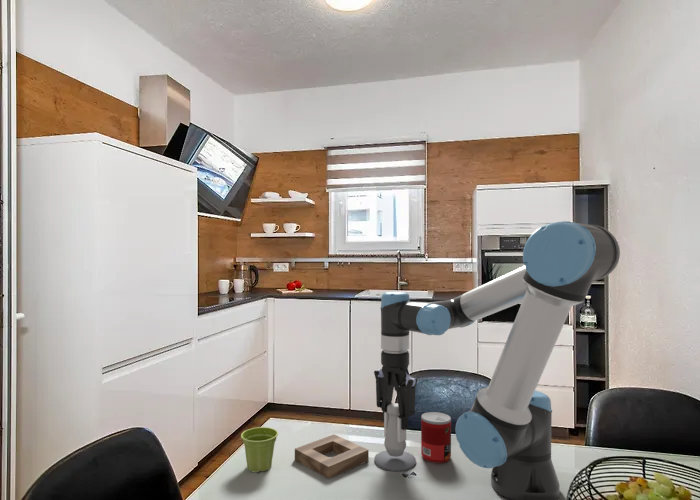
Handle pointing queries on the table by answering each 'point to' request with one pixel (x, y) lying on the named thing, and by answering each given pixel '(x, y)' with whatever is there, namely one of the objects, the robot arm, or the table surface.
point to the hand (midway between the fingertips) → (395, 437)
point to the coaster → (395, 461)
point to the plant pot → (259, 447)
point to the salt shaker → (393, 432)
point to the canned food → (436, 437)
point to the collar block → (330, 467)
